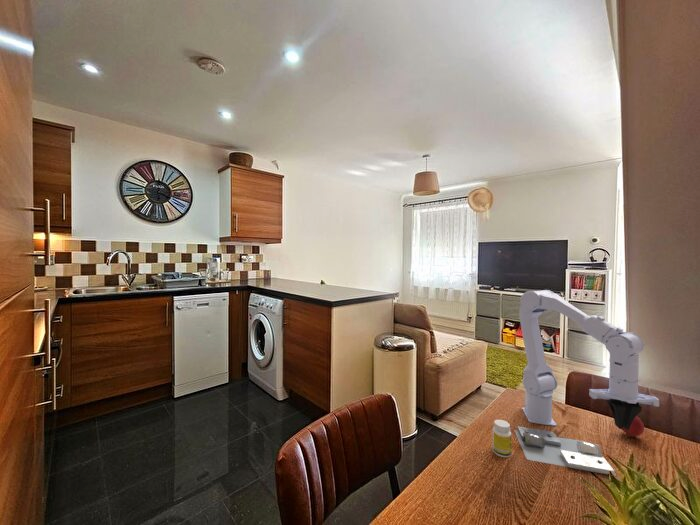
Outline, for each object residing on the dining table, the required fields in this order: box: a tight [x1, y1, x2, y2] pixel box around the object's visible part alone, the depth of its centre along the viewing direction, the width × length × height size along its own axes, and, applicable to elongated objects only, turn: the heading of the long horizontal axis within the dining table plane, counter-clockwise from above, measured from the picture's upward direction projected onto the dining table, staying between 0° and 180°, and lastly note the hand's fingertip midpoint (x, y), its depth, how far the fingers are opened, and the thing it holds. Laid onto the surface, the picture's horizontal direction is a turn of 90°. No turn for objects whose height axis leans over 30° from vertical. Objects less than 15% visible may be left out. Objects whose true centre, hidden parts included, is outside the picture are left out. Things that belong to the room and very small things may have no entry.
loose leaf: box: [560, 440, 616, 476], centre depth 80 cm, size 9×10×3 cm
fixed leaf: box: [516, 426, 561, 448], centre depth 88 cm, size 9×11×3 cm
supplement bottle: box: [491, 419, 512, 458], centre depth 83 cm, size 5×5×8 cm
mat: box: [513, 429, 617, 477], centre depth 84 cm, size 14×20×1 cm
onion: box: [621, 415, 645, 438], centre depth 91 cm, size 6×6×8 cm
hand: (622, 427), depth 79 cm, fingers closed
